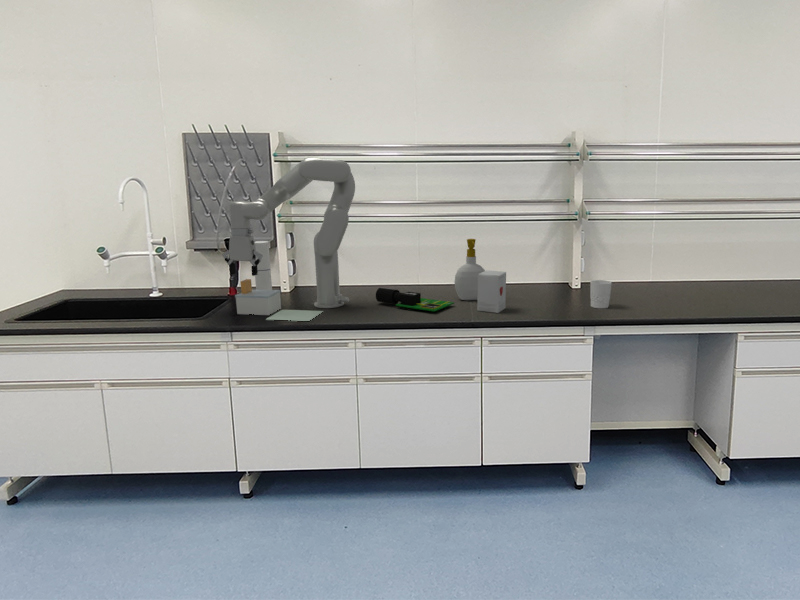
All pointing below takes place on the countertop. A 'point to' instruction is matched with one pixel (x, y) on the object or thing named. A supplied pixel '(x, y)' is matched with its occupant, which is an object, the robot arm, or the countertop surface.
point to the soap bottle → (468, 275)
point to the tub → (258, 305)
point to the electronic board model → (409, 300)
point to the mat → (294, 315)
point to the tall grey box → (263, 267)
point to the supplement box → (491, 291)
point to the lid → (254, 291)
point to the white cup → (600, 293)
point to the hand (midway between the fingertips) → (243, 274)
